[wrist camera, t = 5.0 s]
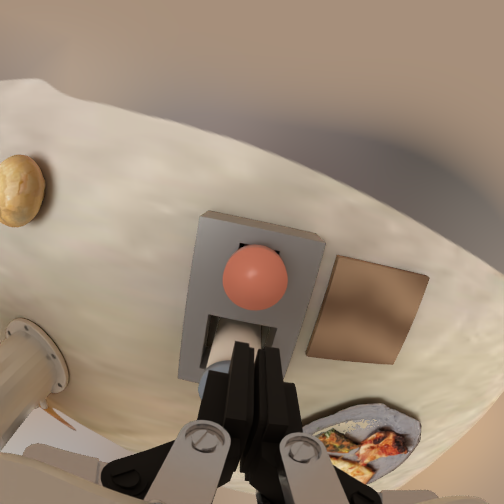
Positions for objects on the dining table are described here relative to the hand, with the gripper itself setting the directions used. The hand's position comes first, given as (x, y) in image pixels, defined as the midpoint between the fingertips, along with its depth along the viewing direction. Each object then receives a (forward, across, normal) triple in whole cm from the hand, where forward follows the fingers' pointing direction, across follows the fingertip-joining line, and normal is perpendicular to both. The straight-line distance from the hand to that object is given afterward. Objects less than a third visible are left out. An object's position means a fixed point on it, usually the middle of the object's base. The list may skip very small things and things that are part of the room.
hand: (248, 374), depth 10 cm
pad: (+17, -13, +4) cm, 22 cm away
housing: (+17, 0, +4) cm, 17 cm away
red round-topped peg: (+16, 0, 0) cm, 16 cm away
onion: (+17, +27, -3) cm, 32 cm away
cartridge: (+17, 0, +8) cm, 18 cm away
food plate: (+17, -20, +28) cm, 38 cm away
